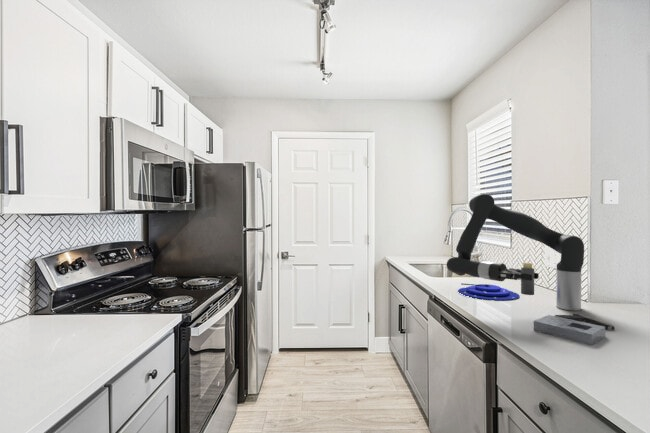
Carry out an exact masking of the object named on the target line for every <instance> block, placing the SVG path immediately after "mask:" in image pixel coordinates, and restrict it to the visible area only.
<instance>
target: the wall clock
mask: <svg viewBox="0 0 650 433" xmlns="http://www.w3.org/2000/svg"><path fill="white" fill-rule="evenodd" d="M461 285H462V286H463V285H464V286H467V287H466V288H465V287H461V288H458V290H457V292H459V293H461V294H463V295H465V296H464V297H466V296H469V297H468V298H470V297H472V298H471V299H475V298H477V300H482V299H483V300H484V301H491V300H494V301H495V302H504V301H505V302H507V301H509V302H510V301H515V300H519V299H520V296H521V295H520V294H519V293H517V292H516V291H512V290H509V289H507V288H504V287H501V286H499V285H495V284H490V283H489V284H486V283H484V284H483V283H482V284H480V283H479V284H476V283H475V284H472V283H461ZM459 293H458V294H459ZM461 294H460V295H461ZM463 295H462V296H463ZM483 300H482V301H483ZM494 301H493V302H494Z"/></svg>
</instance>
